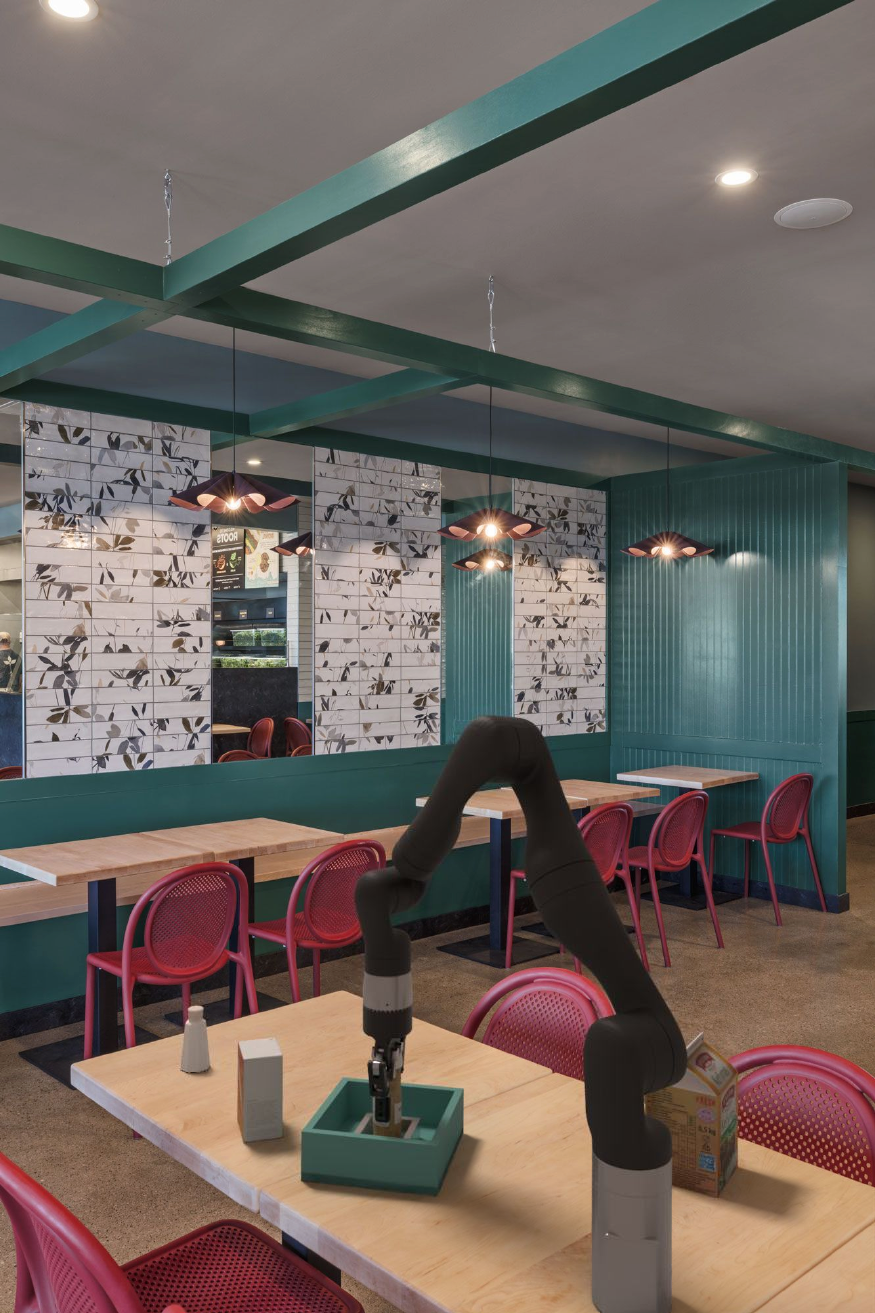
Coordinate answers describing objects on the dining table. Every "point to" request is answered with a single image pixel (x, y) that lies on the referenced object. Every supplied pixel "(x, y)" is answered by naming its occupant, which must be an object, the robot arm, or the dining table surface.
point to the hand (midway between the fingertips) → (387, 1113)
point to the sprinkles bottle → (394, 1123)
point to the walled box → (383, 1140)
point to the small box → (260, 1089)
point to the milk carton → (701, 1120)
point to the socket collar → (408, 1127)
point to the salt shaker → (195, 1042)
